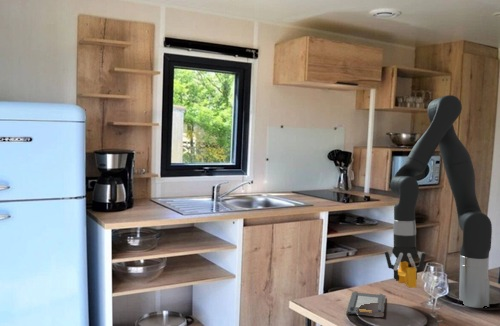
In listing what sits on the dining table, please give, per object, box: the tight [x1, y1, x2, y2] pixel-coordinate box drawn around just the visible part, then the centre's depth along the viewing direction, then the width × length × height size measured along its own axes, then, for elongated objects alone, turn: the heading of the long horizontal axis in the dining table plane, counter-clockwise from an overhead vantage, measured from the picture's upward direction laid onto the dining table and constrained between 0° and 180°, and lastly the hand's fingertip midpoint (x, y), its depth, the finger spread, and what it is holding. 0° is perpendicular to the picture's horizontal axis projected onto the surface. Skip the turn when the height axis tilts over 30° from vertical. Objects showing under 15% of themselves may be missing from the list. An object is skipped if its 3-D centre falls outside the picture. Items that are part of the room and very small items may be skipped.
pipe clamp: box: [397, 262, 417, 289], centre depth 165 cm, size 12×4×6 cm, turn 176°
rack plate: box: [346, 290, 386, 314], centre depth 164 cm, size 12×22×2 cm, turn 163°
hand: (405, 280), depth 165 cm, fingers closed on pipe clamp, 5 cm apart
